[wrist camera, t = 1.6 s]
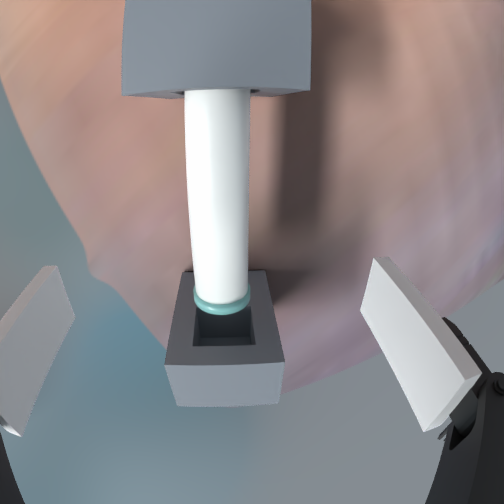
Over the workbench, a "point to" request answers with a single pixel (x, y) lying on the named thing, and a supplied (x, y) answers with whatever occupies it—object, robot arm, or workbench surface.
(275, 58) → the sleeve
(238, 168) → the tube
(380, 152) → the workbench surface
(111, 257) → the workbench surface
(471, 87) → the workbench surface
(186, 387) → the socket block
